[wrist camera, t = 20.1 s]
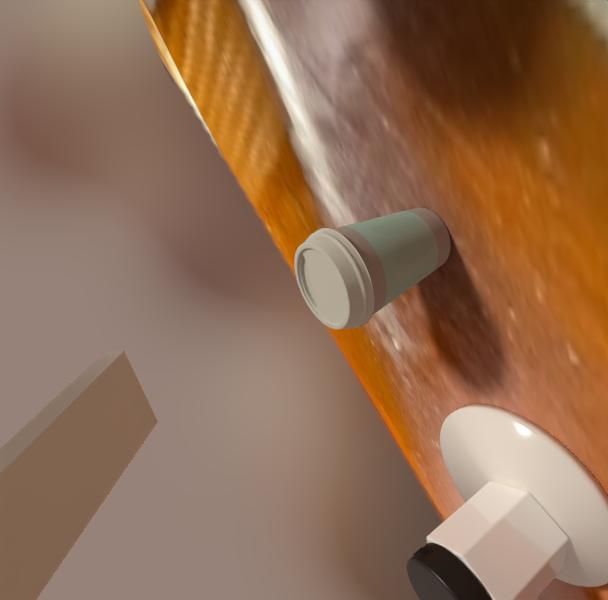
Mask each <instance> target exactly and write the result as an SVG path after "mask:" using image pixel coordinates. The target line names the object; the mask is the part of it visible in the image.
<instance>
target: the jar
mask: <svg viewBox="0 0 608 600" xmlns="http://www.w3.org/2000/svg"><path fill="white" fill-rule="evenodd" d="M568 540H569V539H568V536H567V535H566V534H565V533H564V532H563V531H562V529H561V528H560V527H559V526H558V525H557V524H556V523H555V521H554V520H553V519H552V518H551V517H550V516H549V515H548V513H547V512H546V511H545V510H544V509H543V508H542V507H541V505H540V504H539V503H538V502H537V501H536V500H535V499H534V497H533V496H532V495H531V494H530V493H529V492H527V491H524V490H521V489H517V488H514V487H510V486H507V485H503V484H500V483H496V482H493V481H489V482H488V483H487V484H486V485H485V486H484V487H482V488H481V489H480V490H479V491H478V492H477V493H476V494H474V495H473V496H472V497H471V498H470V499H469V500H468V501H467V502H465V503H464V504H463V505H462V506H461V507H460V508H459V509H458V510H456V511H455V512H454V513H453V514H452V515H451V516H450V517H448V518H447V519H446V520H445V521H444V522H443V523H442V524H441V525H439V526H438V527H437V528H436V529H435V530H434V531H433V532H431V533H430V534H429V535H428V536H427V544H426V545H425V546H424V547H423V548H420V549H419V550H418V551H417V552H416V553H415V554H414V555H413V557H411V558H410V560H409V561H408V562H407V572H408V576H409V579H410V581H411V584H412V586H413V588H414V590H415V592H416V594H417V596H418V597H419V599H420V600H536V598H537V597H538V596H539V595H540V594H541V593H542V592H543V590H544V589H545V588H546V587H547V586H548V585H549V584H550V582H551V581H552V580H553V579H554V578H555V577H556V575H557V574H558V573H559V572H560V571H561V570H562V569H563V565H564V560H565V555H566V550H567V545H568Z"/></svg>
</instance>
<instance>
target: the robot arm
mask: <svg viewBox="0 0 608 600" xmlns="http://www.w3.org/2000/svg"><path fill="white" fill-rule="evenodd" d="M157 422H158V421H157V419H156V417H155V415H154V413H153V410H152V408H151V406H150V404H149V402H148V400H147V398H146V395H145V394H144V391H143V389H142V387H141V385H140V383H139V381H138V379H137V376H136V375H135V373H134V370H133V368H132V366H131V364H130V362H129V360H128V358H127V355H126V354H125V351H118V352H111V353H104V354H102V355H101V356H100V357H99V358H98V359H97V360H96V361H94V362H93V363H92V364H91V365H90V366H89V367H88V368H87V369H86V370H85V371H84V372H83V373H81V375H79V376H78V377H77V378H76V379H75V380H74V381H73V382H72V383H71V384H70V385H69V386H67V387H66V388H65V389H64V390H63V391H62V392H61V393H60V394H59V395H58V396H57V397H56V398H54V399H53V400H52V401H51V402H50V403H49V404H48V405H47V406H46V407H45V408H44V409H43V410H42V411H40V413H38V414H37V415H36V416H35V417H34V418H33V419H32V420H31V421H30V422H29V423H27V424H26V425H25V426H24V427H23V428H22V429H21V430H20V431H19V432H18V433H17V434H16V435H14V436H13V437H12V438H11V439H10V440H9V441H8V442H7V443H6V444H5V445H4V446H3V447H2V448H1V449H0V600H36V599H37V598H38V596H39V595H40V593H41V592H42V591H43V589H44V588H45V586H46V585H47V583H48V582H49V580H50V579H51V577H52V576H53V574H54V573H55V572H56V570H57V569H58V567H59V566H60V564H61V563H62V561H63V559H64V558H65V557H66V555H67V554H68V553H69V551H70V550H71V548H72V547H73V545H74V544H75V542H76V541H77V539H78V538H79V536H80V535H81V533H82V532H83V531H84V529H85V528H86V526H87V525H88V523H89V522H90V520H91V519H92V517H93V516H94V514H95V513H96V512H97V510H98V508H99V507H100V505H101V504H102V503H103V501H104V500H105V498H106V497H107V495H108V494H109V493H110V491H111V490H112V488H113V487H114V485H115V484H116V482H117V481H118V479H119V478H120V476H121V475H122V473H123V472H124V470H125V469H126V468H127V466H128V465H129V463H130V462H131V460H132V459H133V457H134V456H135V454H136V453H137V452H138V450H139V449H140V447H141V445H142V444H143V443H144V441H145V440H146V438H147V437H148V435H149V434H150V432H151V431H152V430H153V428H154V427H155V425H156V424H157Z"/></svg>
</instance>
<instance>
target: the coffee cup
mask: <svg viewBox="0 0 608 600" xmlns="http://www.w3.org/2000/svg"><path fill="white" fill-rule="evenodd" d="M450 249H451V242H450V236H449V233H448V230H447V228H446V226H445V224H444V222H443V221H442V220H441V218H440V217H439V216H438V215H437V214H435V213H434V212H433V211H431V210H429V209H426V208H414V209H410V210H406V211H402V212H398V213H394V214H390V215H386V216H382V217H379V218H375V219H371V220H367V221H363V222H359V223H355V224H351V225H347V226H343V227H340V228H336V229H329V228H322V229H319V230H318V231H316V232H315V233H313V234H311V235H310V236H309V237H308V239H307V240H306V241H305V242H304V243H303V244H301V245H300V246H299V247H298V249H297V251H296V254H295V273H296V278H297V282H298V285H299V288H300V290H301V293H302V295H303V297H304V299H305V301H306V303H307V305H308V306H309V308H310V309H311V311H312V312H313V313H314V315H315V316H316V317H317V318H318V319H319V320H320V321H321V322H322V323H323V324H325V325H326V326H328V327H330V328H332V329H337V330H338V329H344V328H356V327H358V326H363V325H365V324H366V323H367V322H368V321H369V320H370V318H371V317H372V315H373V314H374V313H376V312H377V311H379V310H380V309H381V308H383V307H384V306H386V305H387V304H388V303H390V302H391V301H393V300H394V299H396V298H397V297H398V296H400V295H401V294H403V293H404V292H405V291H407V290H408V289H410V288H411V287H412V286H414V285H415V284H417V283H418V282H419V281H421V280H422V279H424V278H425V277H427V276H428V275H429V274H431V273H432V272H433V271H435V270H436V269H438V268H439V267H440V266H442V265H443V264H444V263H445V262H446V261H447V259H448V257H449V254H450Z"/></svg>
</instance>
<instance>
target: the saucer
mask: <svg viewBox="0 0 608 600" xmlns="http://www.w3.org/2000/svg"><path fill="white" fill-rule="evenodd" d="M440 445H441V451H442V455H443V459H444V462H445V465H446V467H447V470H448V472H449V474H450V476H451V478H452V480H453V482H454V484H455V486H456V488H457V489H458V491H459V492H460V494H461V496H462V497H463V499H464V500H465V501H466V502H467V501H468V500H469V499H470V498H471V497H472V496H473V495H474V494H476V493H477V492H478V491H479V490H480V489H481V488H482V487H484V486H485V485H486V484H487V483H488V482H489V481H493V482H496V483H500V484H503V485H507V486H510V487H514V488H517V489H521V490H524V491H527V492H529V493H530V494H531V495H532V496H533V497H534V499H535V500H536V501H537V502H538V503H539V504H540V505H541V507H542V508H543V509H544V510H545V511H546V512H547V513H548V515H549V516H550V517H551V518H552V519H553V520H554V521H555V523H556V524H557V525H558V526H559V527H560V528H561V529H562V531H563V532H564V533H565V534H566V535H567V536H568V539H569V540H568V545H567V550H566V555H565V560H564V565H563V569H562V570H561V571H560V572H559V573H558V574H557V575H556V577H555V578H556V579H558V580H561V581H563V582H566V583H569V584H573V585H577V586H583V587H598V586H601V585H605V584H607V583H608V495H607V494H606V492H605V491H604V489H603V488H602V487H601V485H600V484H599V482H598V481H597V480H596V479H595V477H594V476H593V475H592V474H591V472H590V471H589V470H588V469H587V468H586V467H585V466H584V464H583V463H582V462H581V461H580V460H579V459H578V458H577V457H576V456H575V455H574V454H573V453H572V452H571V451H570V450H568V449H567V448H566V447H565V446H564V445H563V444H562V443H561V442H559V441H558V440H557V439H556V438H554V437H553V436H552V435H551V434H549V433H548V432H546V431H545V430H543V429H542V428H540V427H539V426H538V425H536V424H534V423H533V422H531V421H529V420H527V419H526V418H524V417H522V416H520V415H518V414H516V413H513V412H511V411H509V410H506V409H503V408H500V407H497V406H492V405H488V404H469V405H465V406H462V407H460V408H459V409H457V410H456V411H454V412H453V413H452V414H450V415H449V416H448V417H447V418H446V420H445V421H444V423H443V425H442V428H441V433H440Z"/></svg>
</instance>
